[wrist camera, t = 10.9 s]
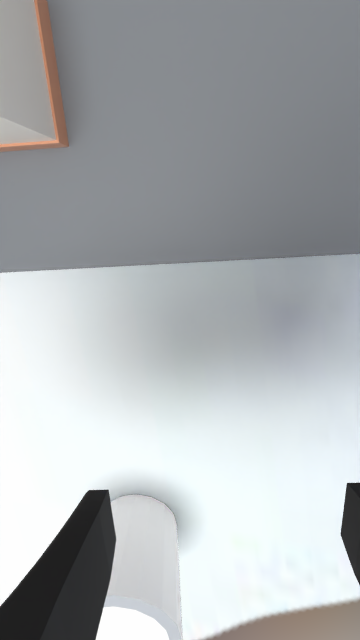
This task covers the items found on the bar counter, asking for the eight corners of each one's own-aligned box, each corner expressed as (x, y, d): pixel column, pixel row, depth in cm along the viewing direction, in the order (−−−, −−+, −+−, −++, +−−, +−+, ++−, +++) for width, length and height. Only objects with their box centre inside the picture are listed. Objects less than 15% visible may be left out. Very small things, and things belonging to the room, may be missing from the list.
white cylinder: (107, 474, 24) (73, 582, 17) (200, 505, 24) (202, 621, 18) (79, 541, 26) (40, 660, 19) (165, 568, 26) (156, 692, 20)
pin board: (423, -198, 13) (452, -248, 11) (369, 247, 18) (384, 252, 16) (-148, -126, 14) (-187, -163, 12) (-40, 269, 19) (-59, 275, 18)
